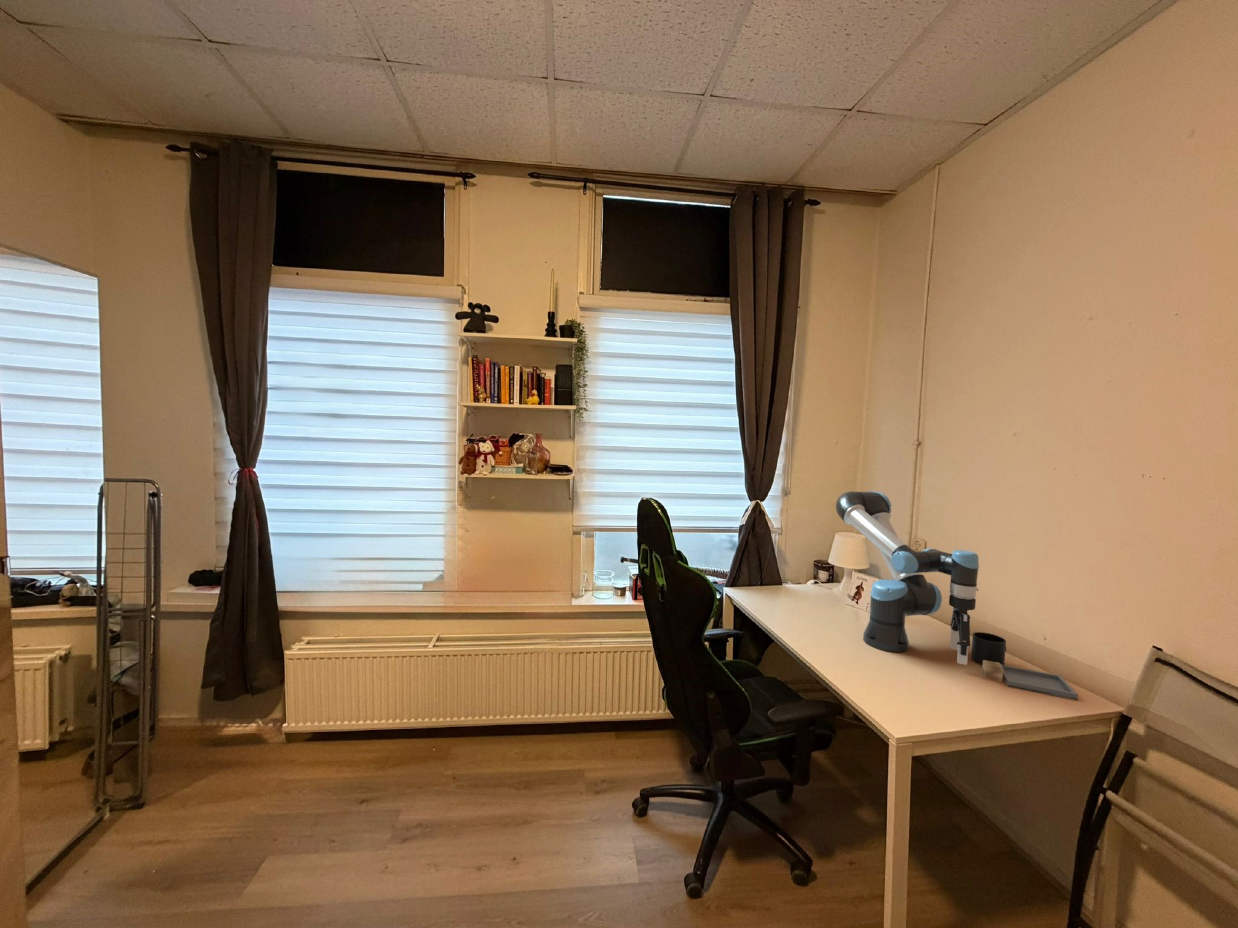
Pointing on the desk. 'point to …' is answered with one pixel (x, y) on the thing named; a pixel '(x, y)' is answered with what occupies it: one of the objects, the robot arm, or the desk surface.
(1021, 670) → the tray
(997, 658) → the mug
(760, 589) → the desk surface
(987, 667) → the oak block
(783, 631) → the desk surface
